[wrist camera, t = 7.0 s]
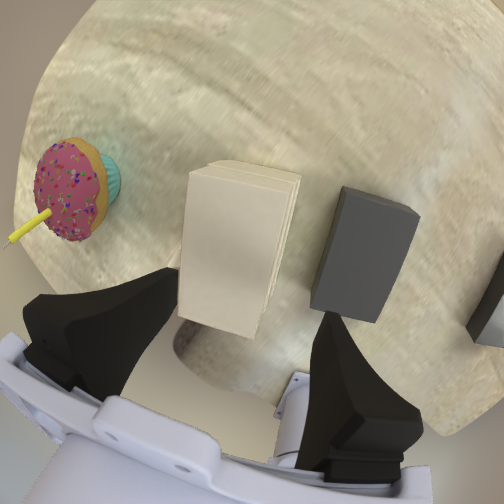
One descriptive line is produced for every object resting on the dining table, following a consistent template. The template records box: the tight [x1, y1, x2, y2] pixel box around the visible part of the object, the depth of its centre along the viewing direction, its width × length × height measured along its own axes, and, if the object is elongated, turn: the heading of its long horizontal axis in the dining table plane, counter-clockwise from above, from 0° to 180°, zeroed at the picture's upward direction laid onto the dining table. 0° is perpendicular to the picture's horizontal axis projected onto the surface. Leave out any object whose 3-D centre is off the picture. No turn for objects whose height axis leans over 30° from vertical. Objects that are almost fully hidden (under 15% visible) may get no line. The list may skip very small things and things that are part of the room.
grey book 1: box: [310, 186, 420, 323], centre depth 19 cm, size 9×6×2 cm, turn 168°
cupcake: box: [3, 138, 120, 249], centre depth 17 cm, size 9×8×12 cm
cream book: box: [178, 166, 293, 339], centre depth 16 cm, size 9×5×2 cm, turn 168°
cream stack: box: [207, 159, 302, 312], centre depth 19 cm, size 9×6×5 cm, turn 168°
